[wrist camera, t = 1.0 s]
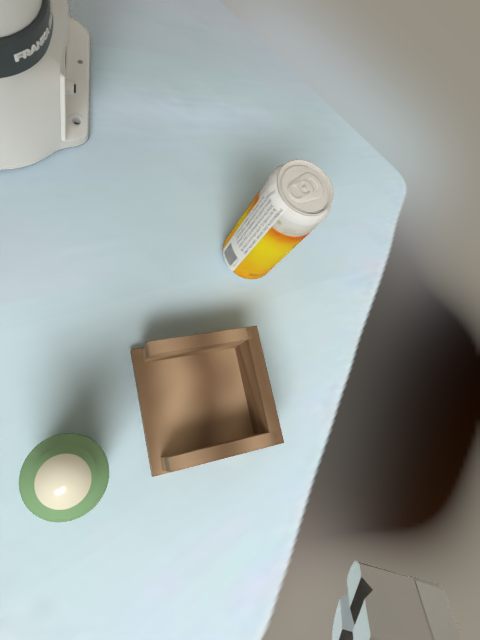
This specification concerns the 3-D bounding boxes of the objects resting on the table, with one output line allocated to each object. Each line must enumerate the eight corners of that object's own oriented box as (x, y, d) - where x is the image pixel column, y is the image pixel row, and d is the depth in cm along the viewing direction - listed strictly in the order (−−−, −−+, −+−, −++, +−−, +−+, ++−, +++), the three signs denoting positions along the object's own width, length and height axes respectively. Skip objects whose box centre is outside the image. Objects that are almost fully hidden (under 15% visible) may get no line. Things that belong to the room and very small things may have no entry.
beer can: (279, 269, 53) (349, 204, 39) (238, 290, 50) (298, 229, 37) (252, 225, 53) (313, 147, 40) (210, 244, 51) (260, 167, 37)
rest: (151, 476, 42) (161, 478, 37) (130, 351, 44) (136, 339, 40) (266, 446, 46) (287, 445, 42) (241, 334, 49) (258, 322, 44)
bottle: (43, 435, 40) (22, 421, 24) (105, 443, 41) (125, 435, 25) (27, 500, 38) (-8, 533, 22) (92, 506, 40) (105, 541, 24)
